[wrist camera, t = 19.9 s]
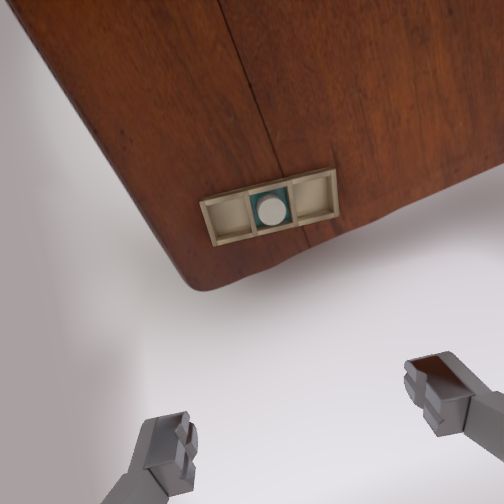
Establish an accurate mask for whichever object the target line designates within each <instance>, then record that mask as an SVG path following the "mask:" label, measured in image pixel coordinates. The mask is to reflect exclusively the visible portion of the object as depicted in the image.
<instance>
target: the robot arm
mask: <svg viewBox="0 0 504 504" xmlns="http://www.w3.org/2000/svg"><path fill="white" fill-rule="evenodd" d="M404 368H405V369H406V371H407V373H406V375H405V376H404V384H405V387H406V390H407V392H408V394H409V396H410V398H411V399H412V401H413V403H414V404H415V405H417V406H418V407H420V408H422V409H423V417H424V419H425V420H426V421H427V423H428V424H429V425H430V427H431V429H432V430H433V432H434V433H435V434H436V436H437V437H440V436H446V435H451V434H457V433H462V432H464V434H465V435H466V436H467V437H469V438H470V439H472V440H473V441H475V442H476V443H477V444H479V445H480V446H482V447H483V448H484V449H486V450H487V451H489V452H490V453H492V454H493V455H494V456H496V457H497V458H499V459H500V460H502V461H503V462H504V394H502V393H500V392H498V391H495V392H492V391H491V390H490V389H489V388H488V387H487V386H486V385H485V384H484V383H483V382H482V381H481V380H480V379H479V378H478V377H477V376H476V375H475V374H474V373H473V372H471V370H469V368H467V367H466V366H465V365H464V364H463V363H462V362H461V361H460V360H459V359H458V358H457V357H456V356H455V355H454V354H453V353H451V352H449V351H447V352H442V353H438V354H434V355H433V354H432V355H427V356H424V357H419V358H415V359H412V360H407V361H406V362H405V366H404ZM189 419H190V416H189V414H188V413H187V411H185V412H180V413H176V414H171V415H166V416H161V417H156V418H151V419H147V420H145V421H144V423H143V424H142V427H141V430H140V433H139V436H138V440H137V443H136V446H135V449H134V453H133V456H132V460H131V463H130V466H129V469H128V473H127V474H123V475H122V476H121V478H120V479H119V481H118V482H117V483H116V484H115V486H114V487H113V489H112V490H111V491H110V492H109V494H108V495H107V496H106V498H105V499H104V500H103V501H102V503H101V504H167V502H168V500H169V497H171V496H175V495H179V494H183V493H186V492H190V491H193V488H194V479H195V469H196V467H195V465H194V463H193V462H192V460H193V459H194V457H195V455H196V454H197V448H198V437H197V431H196V427H195V425H194V424H193V423H191V422H189Z"/></svg>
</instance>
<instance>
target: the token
mask: <svg viewBox="0 0 504 504" xmlns="http://www.w3.org/2000/svg"><path fill="white" fill-rule="evenodd" d="M256 210H257V213H258V216H259V218H260V220H261V221H262V222H263V223H264V224H266V225H276V224H279V223H280V222H281V221H282V220H283V219H284V217H285V215H286V207H285V205H284V203H283V202H282V201H281V199H280V198H279V197H278V196H277V195H275V194H272V193H268V194H264V195H262V196H261V197H260V198H259V199H258V201H257V204H256Z"/></svg>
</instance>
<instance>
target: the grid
mask: <svg viewBox="0 0 504 504" xmlns="http://www.w3.org/2000/svg"><path fill="white" fill-rule="evenodd" d="M268 193H272V194H275V195H277V196H278V197H279V198H280V199H281V201H282V202H283V203H284V205H285V207H286V215H285V217H284V219H283V220H282V221H281V222H280V223H279V224H276V225H266V224H264V223H263V222H262V221H261V220H260V218H259V216H258V213H257V210H256V204H257V201H258V199H259V198H260V197H261V196H262V195H264V194H268ZM199 204H200V207H201V210H202V213H203V216H204V220H205V223H206V226H207V229H208V232H209V235H210V238H211V241H212V245H213V247H214V246H218V245H222V244H226V243H230V242H235V241H239V240H243V239H247V238H251V237H255V236H259V235H264V234H268V233H272V232H276V231H280V230H284V229H289V228H293V227H297V226H301V225H305V224H310V223H314V222H318V221H322V220H326V219H330V218H334V217H338V216H339V205H338V193H337V180H336V169H334V168H331V167H326V168H322V169H317V170H313V171H309V172H305V173H301V174H297V175H293V176H289V177H285V178H281V179H277V180H273V181H268V182H264V183H260V184H256V185H252V186H248V187H244V188H240V189H236V190H232V191H228V192H224V193H219V194H215V195H211V196H207V197H203V198H201V199H200V201H199Z"/></svg>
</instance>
